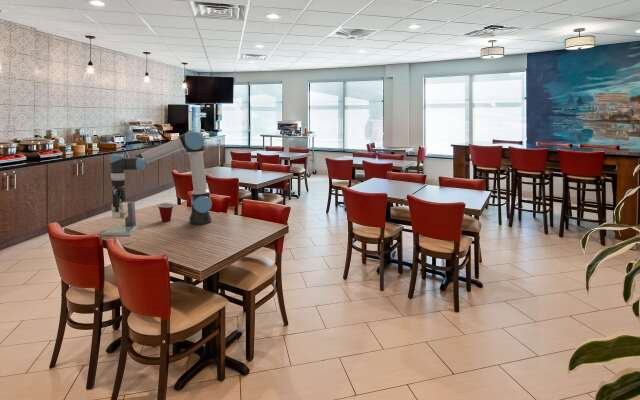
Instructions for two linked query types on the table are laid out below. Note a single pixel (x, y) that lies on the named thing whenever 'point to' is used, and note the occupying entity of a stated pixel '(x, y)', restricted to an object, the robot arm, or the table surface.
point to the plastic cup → (165, 211)
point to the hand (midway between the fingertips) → (120, 215)
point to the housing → (121, 210)
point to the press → (129, 224)
